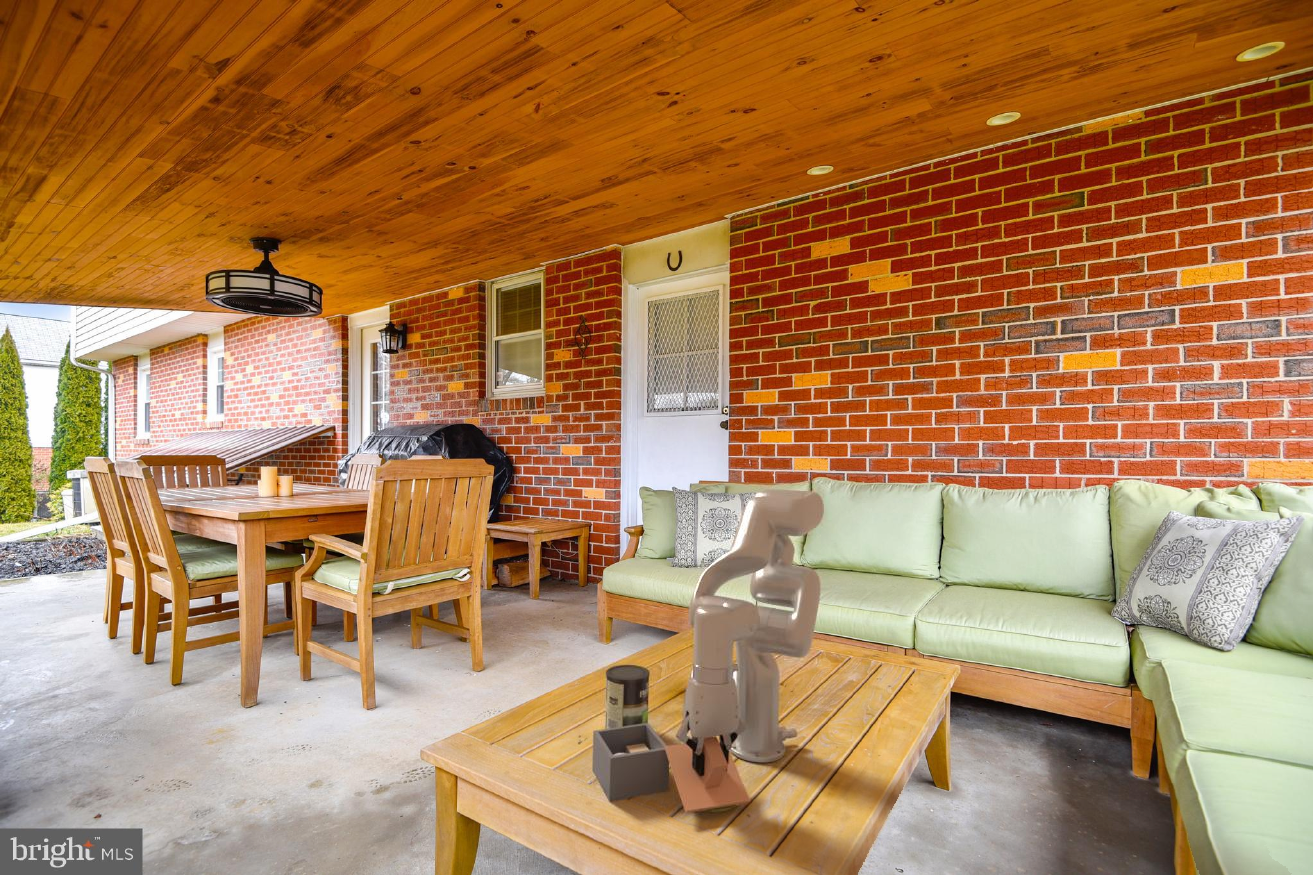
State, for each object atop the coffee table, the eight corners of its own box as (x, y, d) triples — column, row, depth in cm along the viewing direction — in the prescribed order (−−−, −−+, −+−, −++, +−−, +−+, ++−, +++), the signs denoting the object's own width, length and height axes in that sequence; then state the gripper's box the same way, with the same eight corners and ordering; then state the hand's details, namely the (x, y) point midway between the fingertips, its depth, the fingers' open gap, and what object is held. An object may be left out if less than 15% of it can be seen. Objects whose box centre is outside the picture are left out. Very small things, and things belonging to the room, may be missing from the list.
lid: (722, 743, 122) (732, 718, 119) (748, 805, 112) (759, 779, 109) (663, 750, 118) (672, 724, 115) (684, 815, 107) (694, 788, 104)
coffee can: (652, 725, 146) (653, 666, 146) (642, 745, 136) (644, 681, 136) (610, 720, 148) (612, 662, 148) (598, 739, 138) (600, 677, 138)
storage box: (646, 760, 129) (647, 722, 129) (668, 790, 118) (669, 748, 118) (592, 770, 124) (593, 730, 125) (609, 801, 113) (610, 758, 113)
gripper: (741, 661, 121) (739, 754, 121) (664, 670, 115) (661, 768, 114) (761, 674, 114) (759, 773, 114) (680, 684, 108) (677, 788, 107)
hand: (710, 769), depth 114 cm, fingers open, 4 cm apart
